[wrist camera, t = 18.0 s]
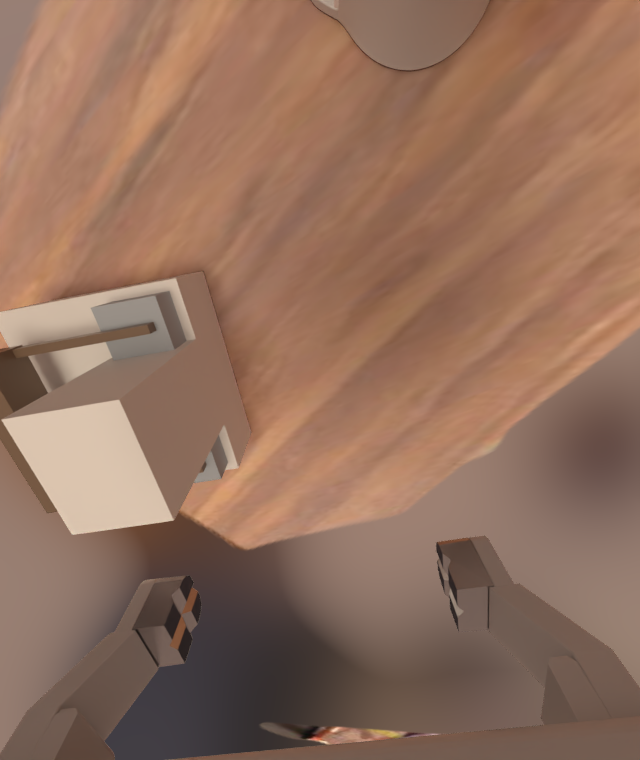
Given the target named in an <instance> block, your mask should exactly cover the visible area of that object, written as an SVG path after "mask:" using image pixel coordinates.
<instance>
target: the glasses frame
mask: <svg viewBox="0 0 640 760" xmlns="http://www.w3.org/2000/svg"><path fill="white" fill-rule="evenodd" d="M155 331H157V330H156V327H155V325H154V322H150V323H144V324H139V325H134V326H128V327H123V328H117V329H112V330H107V331H101V332H96V333H90V334H85V335H80V336H74V337H69V338H63V339H58V340H52V341H47V342H42V343H36V344H31V345H25V346H22V345H19V346H14V347H8V348H3V349H0V440H1V441H2V443H3V444H4V446H5V448H6V449H7V451H8V452H9V454H10V455H11V457H12V459H13V460H14V462H15V463H16V465H17V467H18V468H19V470H20V471H21V473H22V474H23V476H24V477H25V479H26V481H27V482H28V484H29V485H30V487H31V489H32V490H33V492H34V493H35V495H36V497H37V498H38V500H39V501H40V503H41V504H42V506H43V508H44V509H45V510H46V512H47V513H52V512H58V511H57V509H56V508H55V506H54V505H53V503H52V501H51V500H50V498H49V496H48V495H47V493H46V492H45V490H44V488H43V487H42V485H41V483H40V482H39V480H38V479H37V477H36V475H35V474H34V472H33V471H32V469H31V467H30V466H29V464H28V462H27V461H26V459H25V458H24V456H23V454H22V453H21V451H20V449H19V448H18V446H17V445H16V443H15V441H14V440H13V438H12V436H11V435H10V433H9V432H8V430H7V428H6V427H5V425H4V423H3V422H2V420H1V419H3V418H5V417H7V416H9V415H10V414H12V413H14V412H16V411H17V410H19V409H21V408H23V407H25V406H26V405H28V404H30V403H32V402H34V401H35V400H37V399H39V398H41V397H42V396H44V395H46V394H48V392H47V390H46V388H45V386H44V385H43V383H42V381H41V379H40V377H39V375H38V373H37V372H36V370H35V368H34V366H33V364H32V362H31V360H30V359H29V357H28V356H32V355H37V354H42V353H48V352H53V351H59V350H64V349H70V348H75V347H81V346H86V345H92V344H97V343H103V342H108V341H114V340H119V339H125V338H130V337H136V336H141V335H147V334H151V333H153V332H155ZM206 466H207V464H206V462H204V464H203V466H202V468H201V470H200V472H199V473H202V472H204V470H205V468H206Z"/></svg>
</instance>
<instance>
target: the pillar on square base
mask: <svg viewBox="0 0 640 760" xmlns="http://www.w3.org/2000/svg"><path fill="white" fill-rule="evenodd" d="M150 322H154V325H155V327H156V330H157V331H155V332H153V333H151V334H147V335H141V336H136V337H130V338H125V339H119V340H114V341H108V342H103V343H97V344H92V345H86V346H81V347H75V348H70V349H64V350H59V351H53V352H48V353H42V354H37V355H32V356H28V357H29V359H30V360H31V362H32V364H33V366H34V368H35V370H36V372H37V373H38V375H39V377H40V379H41V381H42V383H43V385H44V386H45V388H46V390H47V392H48V394H46V395H44V396H42V397H41V398H39V399H37V400H35V401H34V402H32V403H30V404H28V405H26V406H25V407H23V408H21V409H19V410H17V411H16V412H14V413H12V414H10V415H9V416H7V417H5V418H3V419H1V420H2V422H3V423H4V425H5V427H6V428H7V430H8V432H9V433H10V435H11V436H12V438H13V440H14V441H15V443H16V445H17V446H18V448H19V449H20V451H21V453H22V454H23V456H24V458H25V459H26V461H27V462H28V464H29V466H30V467H31V469H32V471H33V472H34V474H35V475H36V477H37V479H38V480H39V482H40V483H41V485H42V487H43V488H44V490H45V492H46V493H47V495H48V496H49V498H50V500H51V501H52V503H53V505H54V506H55V508H56V509H57V511H58V512H59V514H60V516H61V518H62V519H63V521H64V522H65V524H66V525H67V527H68V529H69V531H70V532H71V534H72V535H75V534H82V533H89V532H96V531H103V530H110V529H117V528H124V527H132V526H139V525H146V524H152V523H160V522H167V521H174V519H175V517H176V515H177V514H178V512H179V510H180V508H181V506H182V504H183V502H184V500H185V498H186V496H187V494H188V493H189V491H190V489H191V487H192V485H193V483H198V482H204V481H211V480H218V479H221V478H222V476H223V473H224V471H225V470H229V469H235V468H239V466H240V463H241V460H242V457H243V455H244V452H245V449H246V446H247V443H248V441H249V438H250V435H251V429H250V426H249V423H248V419H247V416H246V413H245V409H244V406H243V403H242V399H241V396H240V393H239V389H238V386H237V383H236V379H235V376H234V372H233V369H232V366H231V362H230V359H229V356H228V352H227V349H226V346H225V342H224V339H223V336H222V332H221V329H220V326H219V322H218V319H217V316H216V312H215V309H214V306H213V302H212V299H211V296H210V292H209V289H208V286H207V282H206V279H205V275H204V272H203V271H201V272H196V273H191V274H186V275H181V276H175V277H170V278H165V279H160V280H155V281H150V282H144V283H139V284H134V285H129V286H124V287H119V288H114V289H108V290H103V291H98V292H93V293H88V294H83V295H77V296H72V297H67V298H62V299H57V300H52V301H47V302H43V303H38V304H34V305H29V306H25V307H20V308H15V309H11V310H6V311H2V312H0V332H1V334H2V335H3V337H4V339H5V341H6V343H7V344H8V346H9V347H14V346H19V345H22V346H25V345H31V344H36V343H42V342H47V341H52V340H58V339H63V338H69V337H74V336H80V335H85V334H90V333H96V332H101V331H107V330H112V329H117V328H123V327H128V326H134V325H139V324H144V323H150ZM204 462H206V464H207V466H206V468H205V470H204V472H202V473H199V472H200V470H201V468H202V466H203V464H204Z"/></svg>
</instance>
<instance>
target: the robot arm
mask: <svg viewBox="0 0 640 760" xmlns="http://www.w3.org/2000/svg"><path fill="white" fill-rule="evenodd" d="M311 1H312V2H313V4H314V5H315V6H316V7H317V8H318V9H320V10H321V11H323V12H324V13H326V14H328V15H329V16H331V17H333V18H335V19H337V20H338V21H339V22H340V23H341V24H342V25H343V26H344V27H345V29H346V30H347V31H348V33H349V34H350V36H351V37H352V39H353V40H354V41H355V43H356V44H357V45H358V46H359V47H360V48H361V50H362V51H363V52H365V53H366V54H367V55H368V56H369V57H371V58H372V59H373V60H375V61H376V62H378V63H380V64H382V65H384V66H387V67H390V68H393V69H398V70H417V69H422V68H426V67H429V66H432V65H434V64H436V63H438V62H440V61H442V60H444V59H445V58H447V57H448V56H450V55H451V54H452V53H453V52H455V51H456V50H457V49H458V48H459V47H460V46H461V45H462V44H463V43H464V42H465V41H466V40H467V38H468V37H469V36H470V35H471V33H472V32H473V31H474V29H475V28H476V26H477V25H478V23H479V21H480V20H481V18H482V16H483V14H484V12H485V10H486V8H487V6H488V4H489V1H490V0H311ZM436 550H437V553H438V556H439V559H438V561H437V564H438V571H439V576H440V580H441V584H442V586H443V590H444V593H445V595H447V596H448V597H449V598H450V610H451V612H452V615H453V618H454V621H455V623H456V626H457V629H458V631H459V632H468V631H479V630H489V632H490V633H491V634H492V635H493V636H494V637H495V638H496V639H497V640H498V641H499V642H500V643H501V644H502V645H503V646H504V647H505V648H506V649H507V650H508V651H509V652H510V654H512V656H514V658H515V659H516V660H517V661H519V662H520V664H521V665H522V666H523V667H524V668H525V669H526V670H528V672H529V673H530V674H531V675H532V676H534V678H535V679H536V680H537V681H538V682H539V683H541V685H542V686H543V687H544V688H545V691H544V699H543V706H542V714H541V719H542V721H543V723H544V725H538V726H526V727H516V728H506V729H495V730H484V731H474V732H463V733H451V734H440V735H429V736H419V737H408V738H397V739H386V740H375V741H365V742H354V743H343V744H332V745H321V746H310V747H300V748H289V749H278V750H268V751H256V752H247V753H235V754H224V755H213V756H203V757H192V758H181V759H170V760H640V688H639V686H638V685H637V683H636V682H635V681H634V679H633V678H632V676H631V675H630V674H629V672H628V671H627V669H626V668H625V667H624V665H623V664H622V662H621V661H620V660H619V658H618V657H617V655H616V654H615V653H614V651H613V650H612V649H611V648H609V647H608V646H607V645H605V644H604V643H602V642H601V641H600V640H598V639H597V638H595V637H594V636H593V635H591V634H590V633H588V632H587V631H586V630H584V629H582V628H581V627H580V626H578V625H577V624H575V623H574V622H573V621H571V620H570V619H569V618H567V617H566V616H564V615H563V614H562V613H560V612H559V611H557V610H556V609H555V608H553V607H552V606H550V605H549V604H547V603H546V602H545V601H543V600H542V599H540V598H539V597H538V596H536V595H535V594H533V593H532V592H531V591H529V590H528V589H526V588H525V587H523V586H522V585H521V584H514V583H513V581H512V579H511V578H510V576H509V574H508V572H507V571H506V569H505V567H504V566H503V564H502V562H501V560H500V558H499V557H498V555H497V553H496V552H495V550H494V548H493V546H492V544H491V543H490V541H489V539H488V538H487V537H486V536H479V537H472V538H462V539H456V540H448V541H441V542H437V543H436ZM193 583H194V582H193V580H192V578H191V577H190V576H180V577H171V578H160V579H152V580H144V581H143V582H142V583H141V584H140V585H139V587H138V589H137V591H136V593H135V595H134V597H133V598H132V600H131V602H130V604H129V606H128V608H127V610H126V612H125V614H124V616H123V617H122V619H121V621H120V623H119V625H118V627H117V629H116V630H115V632H114V633H110V634H109V635H108V636H106V638H104V639H103V640H102V641H101V642H100V643H99V644H98V645H97V646H96V647H95V648H94V649H93V650H92V651H91V652H89V653H88V654H87V655H86V656H85V657H84V658H83V659H82V660H81V661H80V662H79V663H78V664H77V665H76V666H75V667H73V668H72V669H71V670H70V671H69V672H68V673H67V674H66V675H65V676H64V677H63V678H62V679H61V680H60V681H59V682H57V683H56V684H55V685H54V686H53V687H52V688H51V689H50V690H49V691H48V692H47V693H46V694H45V695H44V696H43V697H41V698H40V699H39V700H38V701H37V702H36V703H35V704H34V705H33V706H32V707H31V708H30V709H29V710H28V711H27V712H26V714H25V715H24V717H23V718H22V720H21V722H20V723H19V725H18V726H17V728H16V729H15V731H14V733H13V734H12V736H11V737H10V739H9V741H8V742H7V744H6V745H5V747H4V749H3V750H2V752H1V753H0V760H115V757H114V753H113V751H112V750H111V749H110V748H109V747H108V746H107V744H106V743H105V742H104V741H105V739H106V738H107V737H108V736H109V734H110V733H111V732H112V730H113V729H114V728H115V726H116V725H117V724H118V722H119V721H120V720H121V718H122V717H123V716H124V714H125V713H126V712H127V710H128V709H129V708H130V706H131V705H132V704H133V702H134V701H135V700H136V698H137V697H138V696H139V694H140V693H141V692H142V690H143V689H144V687H145V686H146V685H147V684H148V682H149V681H150V680H151V678H152V677H153V676H154V674H155V673H156V672H157V670H158V667H162V666H169V665H176V664H183V663H185V661H186V658H187V655H188V652H189V649H190V646H191V643H192V640H193V639H192V636H191V631H192V630H193V628H194V627H195V626H196V625H197V624H198V621H199V618H200V613H201V598H200V595H199V593H198V591H196V590H195V589H193V588H192V586H193Z"/></svg>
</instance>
